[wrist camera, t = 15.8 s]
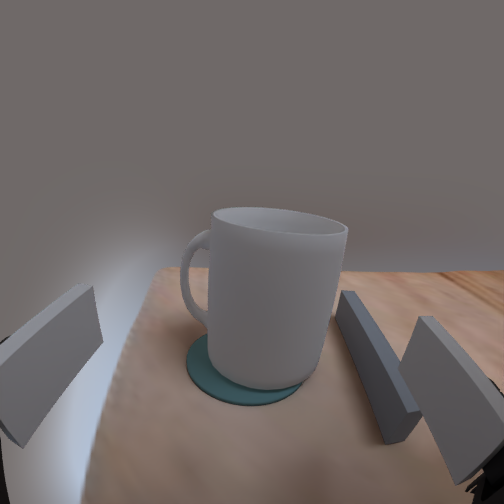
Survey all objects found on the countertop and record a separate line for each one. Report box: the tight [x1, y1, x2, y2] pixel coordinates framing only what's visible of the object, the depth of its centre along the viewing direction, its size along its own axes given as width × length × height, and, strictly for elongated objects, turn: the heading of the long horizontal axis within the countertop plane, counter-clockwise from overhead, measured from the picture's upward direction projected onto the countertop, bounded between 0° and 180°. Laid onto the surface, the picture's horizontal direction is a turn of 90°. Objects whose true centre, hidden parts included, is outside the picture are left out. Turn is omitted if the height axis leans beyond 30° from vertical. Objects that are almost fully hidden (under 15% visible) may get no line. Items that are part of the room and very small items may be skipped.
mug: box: [180, 207, 348, 390], centre depth 20 cm, size 10×12×12 cm
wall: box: [335, 290, 423, 445], centre depth 21 cm, size 18×2×4 cm, turn 177°
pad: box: [187, 333, 303, 406], centre depth 22 cm, size 10×10×1 cm
